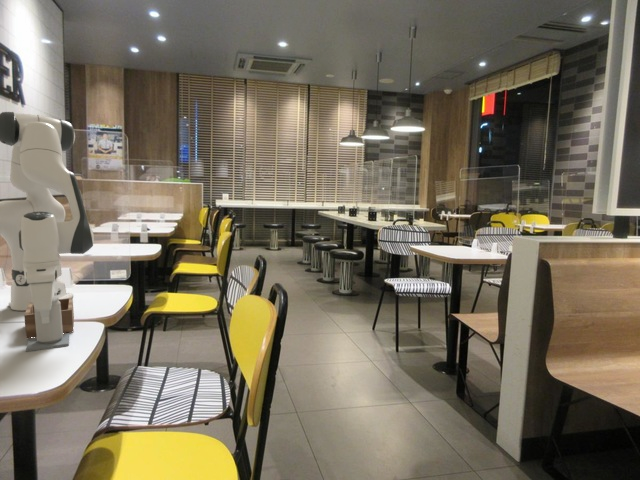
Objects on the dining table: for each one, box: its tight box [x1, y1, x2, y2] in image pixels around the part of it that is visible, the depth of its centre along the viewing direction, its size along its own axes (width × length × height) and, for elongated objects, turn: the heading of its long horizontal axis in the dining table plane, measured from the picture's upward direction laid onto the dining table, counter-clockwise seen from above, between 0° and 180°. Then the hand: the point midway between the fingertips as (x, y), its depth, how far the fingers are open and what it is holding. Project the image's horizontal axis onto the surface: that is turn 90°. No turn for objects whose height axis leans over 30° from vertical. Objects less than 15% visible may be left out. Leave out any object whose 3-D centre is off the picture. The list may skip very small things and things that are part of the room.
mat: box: [25, 333, 70, 353], centre depth 125 cm, size 10×10×1 cm
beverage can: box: [34, 297, 63, 343], centre depth 124 cm, size 6×6×12 cm
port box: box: [23, 297, 75, 339], centre depth 138 cm, size 16×12×7 cm
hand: (46, 318), depth 124 cm, fingers open, 7 cm apart
